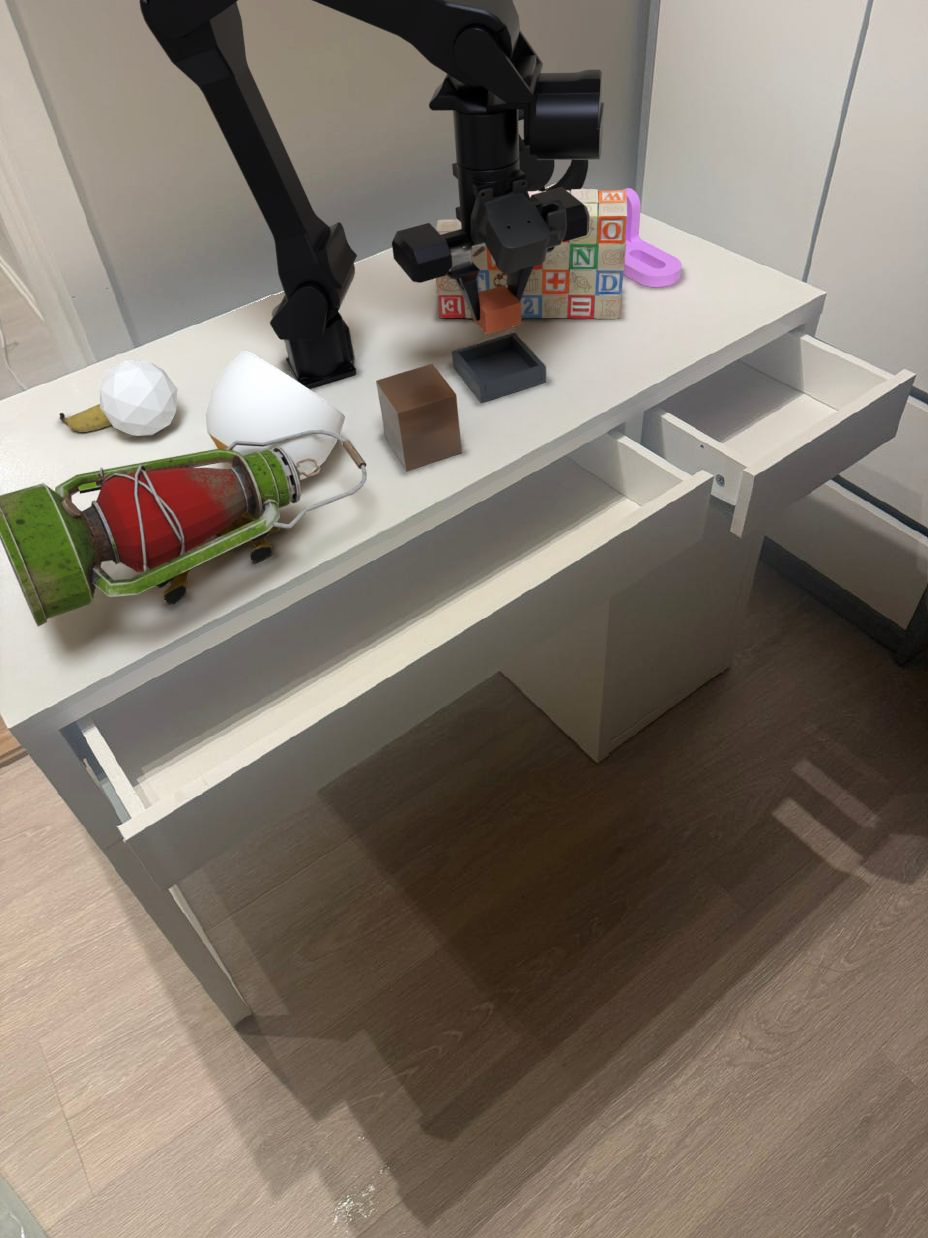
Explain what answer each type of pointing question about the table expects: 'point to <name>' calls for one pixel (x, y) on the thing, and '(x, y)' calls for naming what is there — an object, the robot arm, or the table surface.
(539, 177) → the black spoked wheel
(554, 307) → the stack of blocks
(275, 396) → the cup
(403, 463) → the brown wooden cube
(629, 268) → the bracket
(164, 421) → the geometric ball
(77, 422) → the banana
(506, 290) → the orange square block
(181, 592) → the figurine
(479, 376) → the dark gray square tray
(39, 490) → the lantern
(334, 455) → the table surface
